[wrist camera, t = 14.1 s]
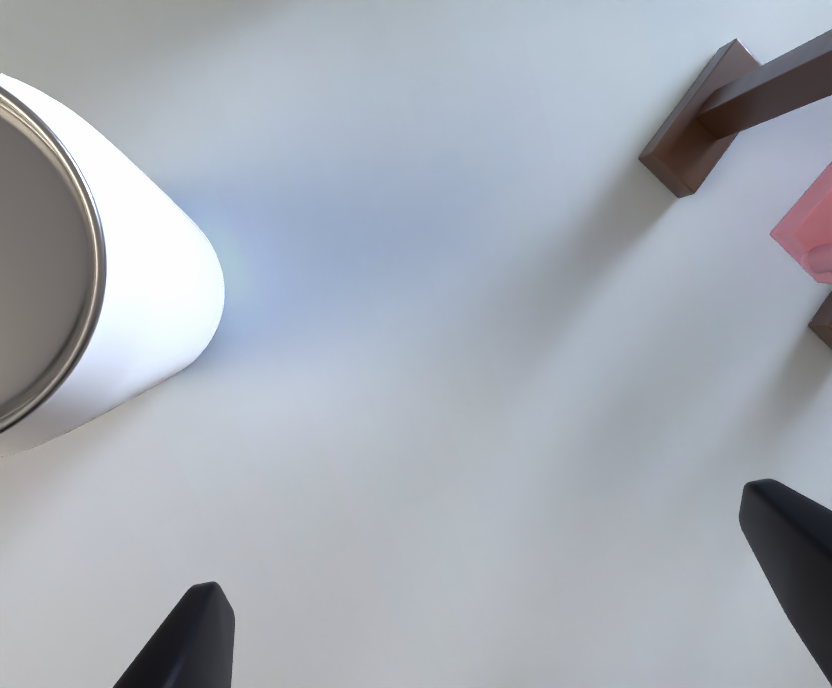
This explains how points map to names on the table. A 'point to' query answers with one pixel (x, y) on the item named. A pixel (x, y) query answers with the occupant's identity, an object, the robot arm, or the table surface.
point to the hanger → (810, 229)
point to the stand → (738, 117)
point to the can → (88, 274)
